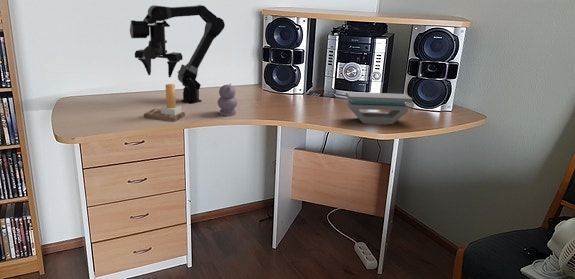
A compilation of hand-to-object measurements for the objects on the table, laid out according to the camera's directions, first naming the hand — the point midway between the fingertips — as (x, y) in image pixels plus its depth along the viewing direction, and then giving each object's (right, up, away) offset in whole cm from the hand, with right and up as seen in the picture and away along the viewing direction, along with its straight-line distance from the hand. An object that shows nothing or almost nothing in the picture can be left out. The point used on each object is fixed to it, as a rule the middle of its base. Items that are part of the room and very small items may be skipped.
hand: (159, 76), depth 181 cm
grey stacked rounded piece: (+29, -16, -4) cm, 33 cm away
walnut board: (+6, -18, -13) cm, 22 cm away
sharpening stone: (+89, -19, -4) cm, 91 cm away
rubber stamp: (+8, -16, -13) cm, 22 cm away
